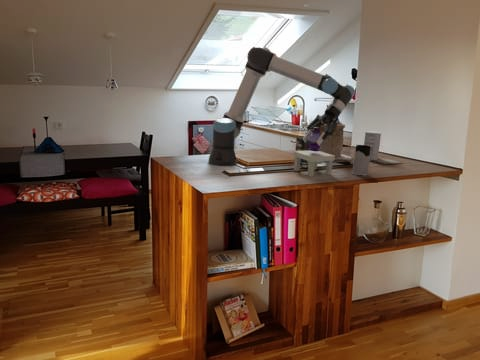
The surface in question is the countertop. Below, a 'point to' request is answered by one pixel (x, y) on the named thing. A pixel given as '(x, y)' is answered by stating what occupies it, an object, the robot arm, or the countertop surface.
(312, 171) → the footstool
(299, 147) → the coffee can
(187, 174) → the countertop surface
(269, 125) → the countertop surface
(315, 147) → the potion bottle
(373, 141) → the supplement box
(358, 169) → the glass holder
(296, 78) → the robot arm
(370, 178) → the countertop surface
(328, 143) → the cookie jar
